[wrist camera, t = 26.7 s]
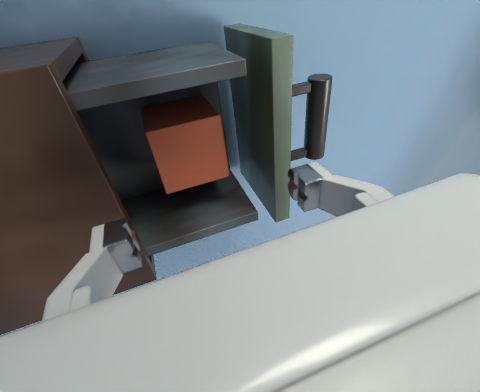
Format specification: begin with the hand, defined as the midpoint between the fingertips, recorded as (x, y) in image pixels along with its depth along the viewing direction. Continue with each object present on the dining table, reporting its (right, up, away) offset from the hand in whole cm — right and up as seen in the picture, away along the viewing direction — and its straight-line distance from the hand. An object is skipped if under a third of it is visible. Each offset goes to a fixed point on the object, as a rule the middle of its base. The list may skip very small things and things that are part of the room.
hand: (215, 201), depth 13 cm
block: (-3, +5, +8) cm, 10 cm away
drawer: (-3, +6, +8) cm, 11 cm away
